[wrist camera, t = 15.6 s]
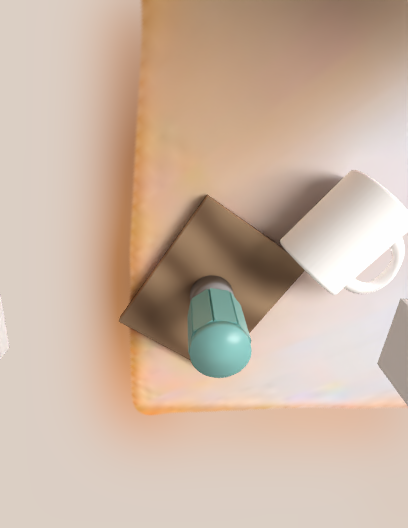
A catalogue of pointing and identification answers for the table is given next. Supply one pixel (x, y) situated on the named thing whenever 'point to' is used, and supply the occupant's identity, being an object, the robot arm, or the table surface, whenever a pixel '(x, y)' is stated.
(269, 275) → the stud board
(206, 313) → the cap
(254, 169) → the table surface
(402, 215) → the mug
